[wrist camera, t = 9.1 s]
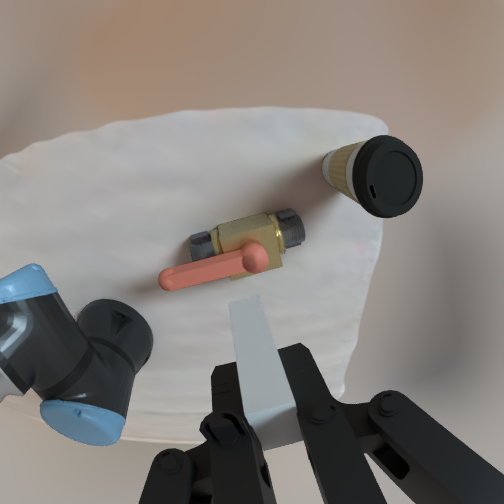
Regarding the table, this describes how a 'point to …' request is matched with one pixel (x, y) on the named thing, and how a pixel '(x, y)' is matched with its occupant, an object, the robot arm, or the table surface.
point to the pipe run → (252, 237)
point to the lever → (215, 267)
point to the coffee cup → (376, 175)
